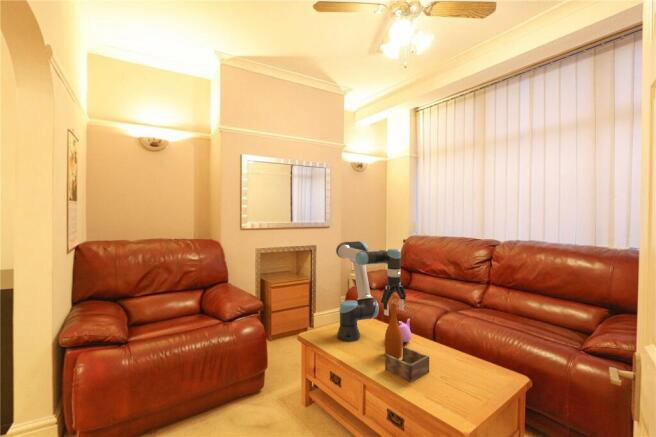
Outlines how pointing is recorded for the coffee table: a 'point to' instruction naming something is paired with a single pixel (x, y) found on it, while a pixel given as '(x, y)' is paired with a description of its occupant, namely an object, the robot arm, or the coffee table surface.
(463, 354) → the coffee table surface
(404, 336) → the teapot
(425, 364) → the wooden box
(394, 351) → the wine bottle
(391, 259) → the robot arm
